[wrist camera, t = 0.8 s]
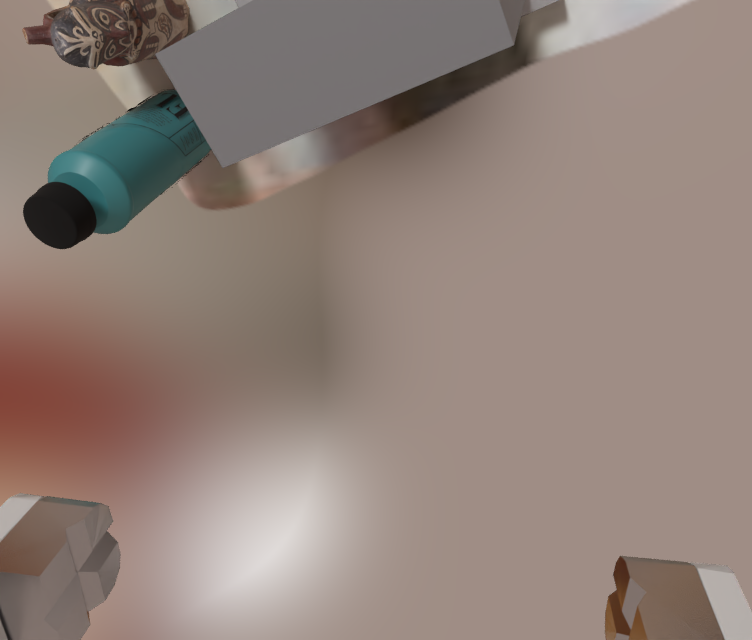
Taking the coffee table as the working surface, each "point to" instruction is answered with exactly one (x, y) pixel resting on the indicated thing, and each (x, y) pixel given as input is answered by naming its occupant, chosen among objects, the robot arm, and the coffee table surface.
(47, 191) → the beverage bottle
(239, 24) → the block
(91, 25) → the figurine
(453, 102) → the coffee table surface
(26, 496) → the robot arm
